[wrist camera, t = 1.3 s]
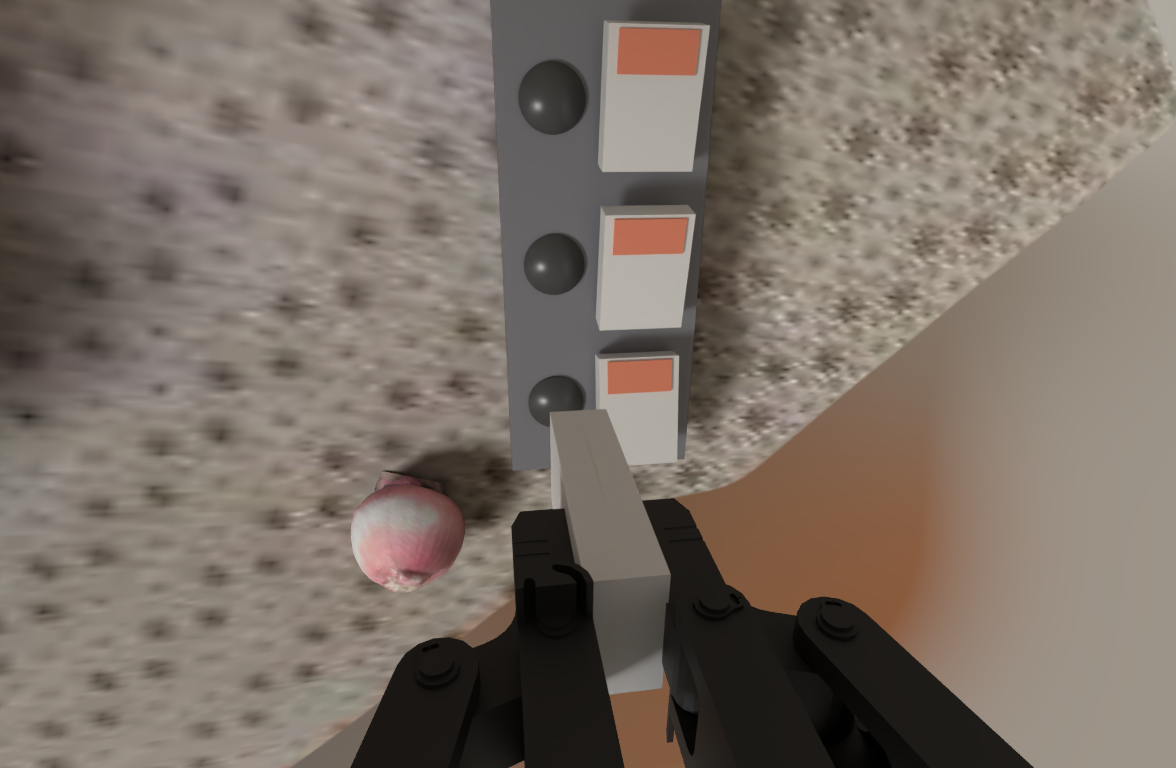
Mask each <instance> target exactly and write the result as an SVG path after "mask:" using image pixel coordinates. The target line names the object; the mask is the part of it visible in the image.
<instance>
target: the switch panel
mask: <svg viewBox="0 0 1176 768" xmlns="http://www.w3.org/2000/svg"><path fill="white" fill-rule="evenodd" d="M490 5H491V27H492V49H493V70H494V92H495V114H496V135H497V157H498V179H499V200H500V222H501V244H502V265H503V287H504V309H505V330H506V352H507V374H508V395H509V417H510V439H511V454H512V469H513V471H515V470H530V469H545V468H551V447H550V412H561V411H579V410H596V377H595V354H610V353H633V352H655V351H673V352H675V353H676V354H678V355H679V386H678V441H677V459H684V456H685V444H686V431H687V419H688V406H689V394H690V382H691V369H692V357H693V345H694V332H695V320H696V307H697V295H698V283H699V270H700V258H701V245H702V233H703V221H704V208H705V196H706V183H707V171H708V159H709V146H710V134H711V121H712V109H713V97H714V84H715V72H716V59H717V47H718V35H719V22H720V10H721V0H490ZM604 20H618V21H653V22H689V23H703V24H706V25H710V30H709V39H708V47H707V55H706V63H705V71H704V79H703V88H702V96H701V104H700V112H699V120H698V128H697V136H696V145H695V153H694V161H693V169H692V172H602V170H601V169H600V167H599V165H598V149H599V125H600V100H601V76H602V52H603V28H604ZM636 205H688V206H689V207H690V208H691V209H692V210H693V211H694V213H695V214H696V217H695V224H694V232H693V240H692V247H691V255H690V263H689V270H688V278H687V286H686V293H685V301H684V309H683V316H682V324H681V327H678V328H653V329H627V330H602V331H600V330H599V327H598V324H597V321H596V300H597V278H598V256H599V234H600V212H601V206H636Z"/></svg>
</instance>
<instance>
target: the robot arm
mask: <svg viewBox="0 0 1176 768" xmlns="http://www.w3.org/2000/svg"><path fill="white" fill-rule="evenodd" d="M550 447H551V500H552V506H553V509H548V510H535V511H522V512H520V513H519V514H518V516H517V518H516V520H515V521H514V523H513V525H512V526H511V527H512V547H513V568H514V587H515V605H516V612H515V617H514V619H513V621H512V623H511V625H510V626H509V627H508V628H507V630H506V631H505V632H503V633H502V634H501V635H499V636H498V637H497V638H495V639H493V640H491V641H489V642H487V643H485V644H482V645H480V646H477V647H474V648H472V647H471V646H469V645H468V644H467V643H465V642H464V641H462V640H458V639H454V638H450V637H448V638H434V639H431V640H428V641H425V642H423V643H420V644H418V645H416V646H415V647H414V648H412V649H411V650H410V651H408V652H407V653H406V654H405V655H404V656H403V658H402V659H401V661H400V662H399V663H398V665H397V667H396V669H395V671H394V673H393V675H392V678H391V680H390V682H389V684H388V686H387V689H386V691H385V693H384V695H383V697H382V699H381V702H380V704H379V706H378V708H377V710H376V713H375V715H374V718H373V719H372V721H371V724H370V726H369V728H368V730H367V732H366V735H365V737H364V739H363V741H362V744H361V746H360V748H359V750H358V752H357V754H356V757H355V759H354V761H353V763H352V765H351V768H509V767H511V766H513V765H515V764H517V763H519V762H521V761H523V760H524V765H525V768H624V763H623V758H622V754H621V749H620V744H619V739H618V735H617V730H616V725H615V720H614V716H613V711H612V707H611V701H610V697H609V694H616V693H625V692H632V691H642V690H650V689H658V688H662V681H663V668H664V671H665V674H666V677H667V681H668V684H669V687H670V694H669V705H668V718H667V728H666V734H667V742H673V735H674V731H675V734H676V737H677V741H678V744H679V747H680V750H681V754H682V757H683V761H684V764H685V767H686V768H1033V766H1032V765H1030V764H1029V763H1028V762H1027V761H1026V760H1025V759H1024V758H1023V757H1022V756H1020V754H1018V753H1017V752H1016V751H1015V750H1014V749H1013V748H1012V747H1011V746H1010V745H1008V743H1006V742H1005V741H1004V740H1003V739H1002V738H1001V737H1000V736H999V735H998V734H997V733H996V732H994V731H993V730H992V729H991V728H990V727H989V726H988V725H987V724H986V723H985V722H983V721H982V720H981V719H980V718H979V717H978V716H977V715H976V714H975V713H974V712H973V711H972V710H971V709H969V708H968V707H967V706H966V705H965V704H964V703H963V702H962V701H961V700H960V699H959V698H957V697H956V696H955V695H954V694H953V693H952V692H951V691H950V690H949V689H948V688H947V687H946V686H944V685H943V684H942V683H941V682H940V681H939V680H938V679H937V678H936V677H935V676H933V675H932V674H931V673H930V672H929V671H928V670H927V669H926V668H925V667H924V666H923V665H921V664H920V663H919V662H918V661H917V660H916V659H915V658H914V657H913V656H912V655H911V654H910V653H908V652H907V651H906V650H905V649H904V648H903V647H902V646H901V645H900V644H899V643H898V642H897V641H895V640H894V639H893V638H892V637H891V636H890V635H889V634H888V633H887V632H886V631H885V630H883V629H882V628H881V627H880V626H879V625H878V624H877V623H876V622H875V621H874V620H873V619H871V618H870V617H869V616H868V615H867V614H866V613H864V612H863V611H862V610H860V609H859V608H857V607H856V606H855V605H853V604H850V603H848V602H845V601H843V600H840V599H836V598H830V597H818V598H811V599H809V600H807V601H806V602H804V603H802V605H801V606H800V608H799V610H798V612H797V616H795V615H788V614H782V613H775V612H769V611H765V610H760V609H757V608H755V607H752V606H751V605H750V603H749V602H748V600H747V599H746V598H745V597H744V595H743V594H742V593H741V592H739V591H738V590H736V589H734V588H733V587H731V586H729V585H726V584H725V582H724V580H723V578H722V576H721V574H720V572H719V570H718V568H717V566H716V564H715V562H714V560H713V558H712V556H711V554H710V552H709V550H708V548H707V546H706V544H705V542H704V541H703V539H702V536H701V534H700V532H699V530H698V529H697V527H696V523H695V521H694V520H693V518H692V515H691V514H690V511H689V510H688V509H686V508H685V507H684V506H683V505H682V504H680V503H679V502H678V501H677V500H675V499H674V498H671V499H658V500H645V501H642V500H641V497H640V494H639V492H638V489H637V487H636V484H635V482H634V479H633V476H632V474H631V471H630V469H629V466H628V464H627V461H626V459H625V456H624V453H623V451H622V448H621V446H620V443H619V441H618V438H617V436H616V433H615V430H614V428H613V425H612V423H611V420H610V418H609V415H608V413H607V410H606V409H596V410H579V411H561V412H550Z"/></svg>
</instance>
